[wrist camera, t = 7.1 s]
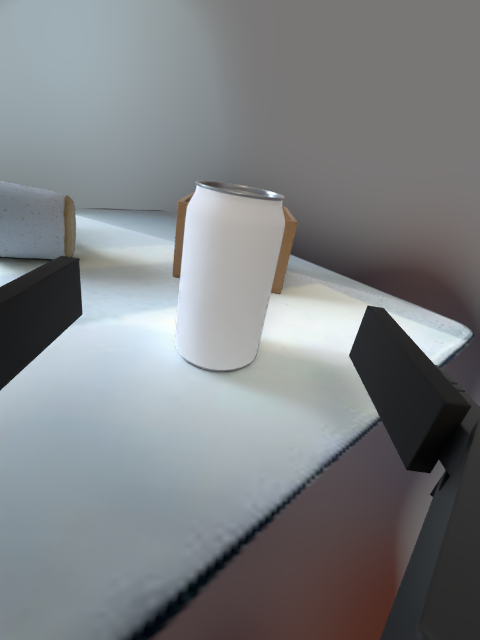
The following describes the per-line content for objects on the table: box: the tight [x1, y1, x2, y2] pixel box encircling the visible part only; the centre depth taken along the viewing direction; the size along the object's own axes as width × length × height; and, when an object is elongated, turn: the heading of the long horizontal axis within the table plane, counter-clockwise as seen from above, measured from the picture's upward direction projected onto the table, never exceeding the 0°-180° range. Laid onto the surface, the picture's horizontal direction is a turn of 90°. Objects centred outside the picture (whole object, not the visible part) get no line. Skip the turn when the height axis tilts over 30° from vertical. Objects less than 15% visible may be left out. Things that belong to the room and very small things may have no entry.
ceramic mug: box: [0, 181, 76, 259], centre depth 36 cm, size 11×8×8 cm
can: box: [175, 180, 285, 372], centre depth 23 cm, size 6×6×12 cm
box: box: [173, 191, 297, 294], centre depth 42 cm, size 12×13×8 cm
